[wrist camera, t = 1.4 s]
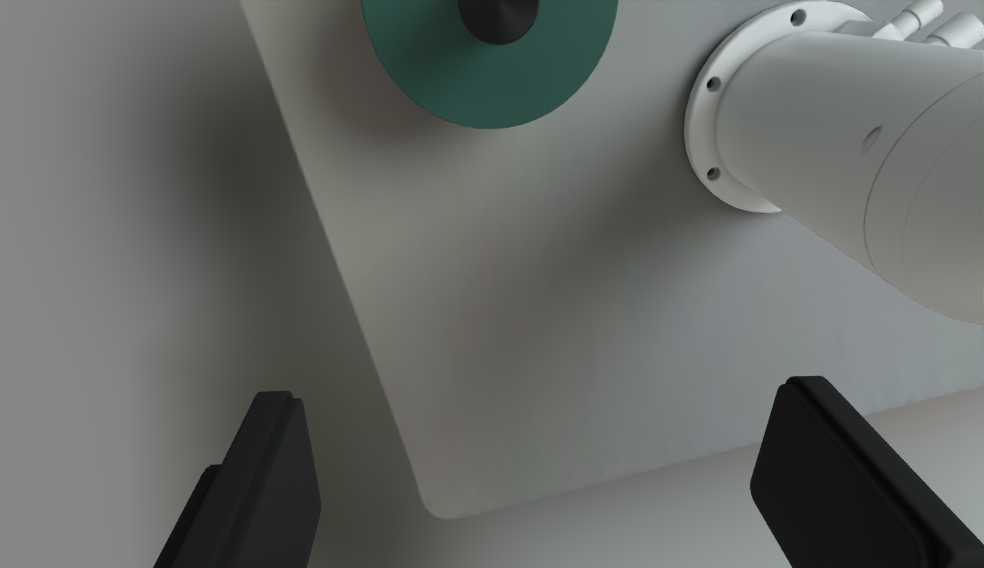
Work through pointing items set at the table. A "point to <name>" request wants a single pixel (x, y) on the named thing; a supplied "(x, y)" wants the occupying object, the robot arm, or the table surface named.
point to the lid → (489, 54)
